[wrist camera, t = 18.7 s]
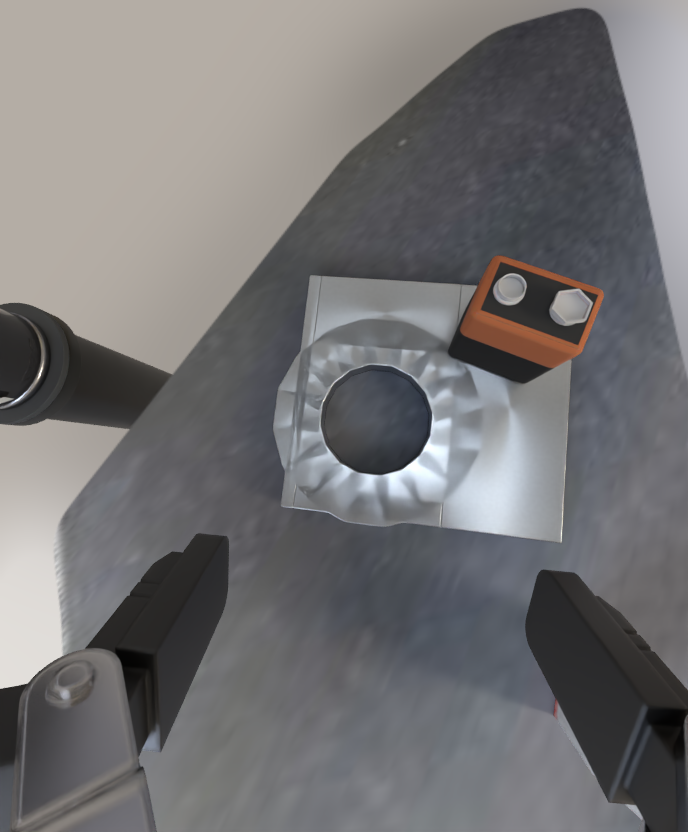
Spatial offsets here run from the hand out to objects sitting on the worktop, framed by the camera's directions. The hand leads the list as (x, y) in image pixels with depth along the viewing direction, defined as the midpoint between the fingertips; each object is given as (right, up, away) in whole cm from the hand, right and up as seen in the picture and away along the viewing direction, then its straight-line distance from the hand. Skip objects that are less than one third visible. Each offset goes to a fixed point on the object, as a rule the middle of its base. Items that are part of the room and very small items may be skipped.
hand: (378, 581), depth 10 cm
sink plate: (+6, +5, +24) cm, 25 cm away
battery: (+11, +10, +22) cm, 27 cm away
